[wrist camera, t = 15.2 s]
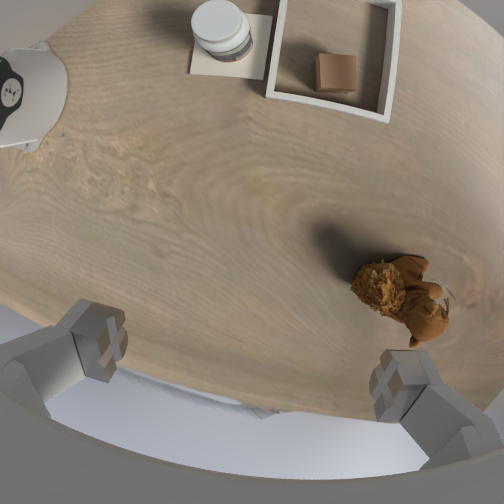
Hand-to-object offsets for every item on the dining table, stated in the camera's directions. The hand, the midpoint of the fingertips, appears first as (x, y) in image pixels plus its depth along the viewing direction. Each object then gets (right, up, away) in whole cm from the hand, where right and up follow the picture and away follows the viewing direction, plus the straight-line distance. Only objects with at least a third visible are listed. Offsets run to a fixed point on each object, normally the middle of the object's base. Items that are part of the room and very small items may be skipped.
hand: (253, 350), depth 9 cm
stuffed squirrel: (+20, -1, +33) cm, 39 cm away
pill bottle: (-3, +28, +21) cm, 35 cm away
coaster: (-3, +28, +22) cm, 36 cm away
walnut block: (+10, +24, +23) cm, 34 cm away
